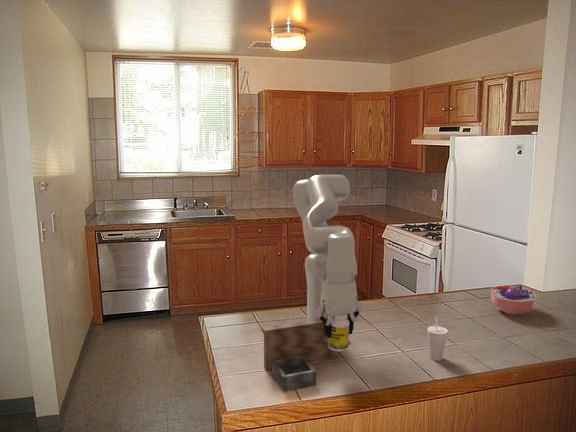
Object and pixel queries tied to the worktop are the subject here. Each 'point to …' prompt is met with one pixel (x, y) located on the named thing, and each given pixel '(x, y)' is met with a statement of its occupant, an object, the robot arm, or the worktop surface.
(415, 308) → the worktop surface
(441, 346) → the smoothie
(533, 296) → the cell model
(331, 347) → the pill bottle
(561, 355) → the worktop surface
